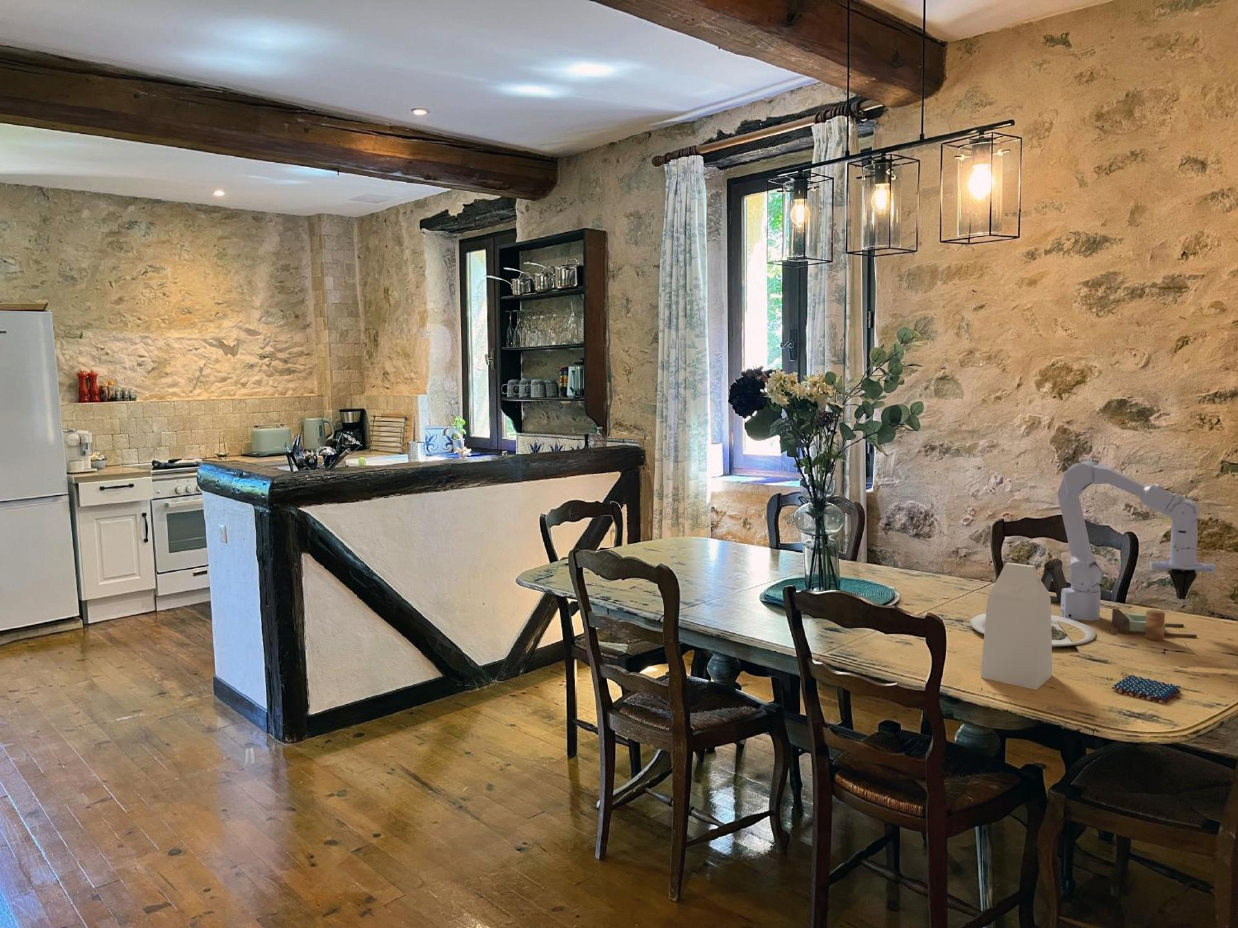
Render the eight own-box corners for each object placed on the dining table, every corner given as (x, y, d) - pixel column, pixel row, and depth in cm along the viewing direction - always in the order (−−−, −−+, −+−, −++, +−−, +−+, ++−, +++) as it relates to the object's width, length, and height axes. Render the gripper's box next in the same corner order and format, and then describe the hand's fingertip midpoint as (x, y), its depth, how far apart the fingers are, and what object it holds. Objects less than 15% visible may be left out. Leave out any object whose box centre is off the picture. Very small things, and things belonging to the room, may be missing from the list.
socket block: (1128, 633, 224) (1129, 621, 223) (1120, 624, 232) (1120, 613, 231) (1164, 635, 221) (1165, 623, 221) (1154, 625, 229) (1155, 614, 229)
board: (1128, 644, 218) (1129, 625, 217) (1111, 626, 233) (1112, 608, 232) (1206, 649, 213) (1207, 629, 212) (1183, 630, 228) (1184, 612, 228)
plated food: (1079, 621, 240) (1080, 609, 239) (1109, 655, 211) (1110, 642, 211) (964, 615, 248) (964, 603, 247) (977, 647, 219) (977, 634, 219)
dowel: (1147, 641, 217) (1149, 613, 217) (1143, 636, 221) (1144, 609, 220) (1165, 642, 216) (1167, 614, 215) (1160, 637, 220) (1161, 610, 219)
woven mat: (1127, 681, 194) (1128, 672, 194) (1181, 694, 186) (1182, 685, 186) (1109, 693, 187) (1109, 684, 187) (1164, 707, 179) (1164, 697, 179)
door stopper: (1072, 600, 260) (1073, 561, 259) (1064, 604, 256) (1065, 564, 255) (1041, 595, 267) (1042, 556, 265) (1032, 598, 263) (1034, 559, 261)
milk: (1052, 675, 198) (1056, 563, 195) (1036, 689, 189) (1040, 573, 186) (998, 664, 206) (1000, 556, 203) (980, 677, 197) (983, 565, 194)
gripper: (1156, 548, 220) (1154, 600, 221) (1222, 550, 216) (1219, 603, 217) (1147, 543, 227) (1145, 593, 228) (1211, 545, 223) (1208, 596, 224)
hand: (1181, 598), depth 223 cm, fingers closed
